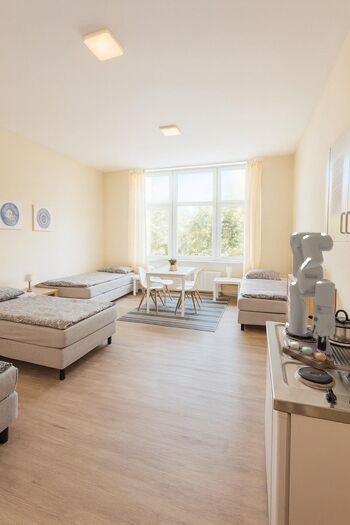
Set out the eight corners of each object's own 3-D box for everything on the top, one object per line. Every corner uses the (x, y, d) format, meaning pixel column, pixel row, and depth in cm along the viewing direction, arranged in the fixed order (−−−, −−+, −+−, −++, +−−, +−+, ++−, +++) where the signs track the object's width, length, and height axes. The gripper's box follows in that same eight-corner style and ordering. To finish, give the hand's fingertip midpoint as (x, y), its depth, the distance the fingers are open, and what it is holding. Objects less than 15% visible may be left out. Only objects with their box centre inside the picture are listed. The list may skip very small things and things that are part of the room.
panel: (282, 351, 132) (282, 346, 132) (296, 348, 136) (296, 343, 136) (318, 369, 114) (318, 363, 114) (333, 365, 118) (334, 359, 118)
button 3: (313, 360, 119) (313, 353, 119) (319, 358, 121) (319, 352, 121) (321, 364, 116) (321, 357, 116) (327, 362, 118) (327, 355, 117)
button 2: (300, 354, 126) (300, 347, 126) (306, 352, 127) (306, 346, 127) (307, 357, 122) (307, 350, 122) (313, 356, 124) (313, 349, 124)
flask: (335, 356, 127) (336, 336, 127) (318, 354, 129) (320, 334, 128) (329, 350, 134) (331, 331, 134) (314, 348, 136) (315, 329, 135)
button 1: (288, 348, 132) (288, 342, 132) (294, 347, 134) (294, 341, 134) (294, 351, 129) (295, 345, 128) (300, 350, 130) (301, 344, 130)
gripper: (320, 312, 110) (317, 355, 111) (343, 309, 116) (340, 350, 117) (304, 308, 117) (302, 349, 118) (327, 306, 123) (324, 344, 124)
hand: (321, 349), depth 117 cm, fingers closed
